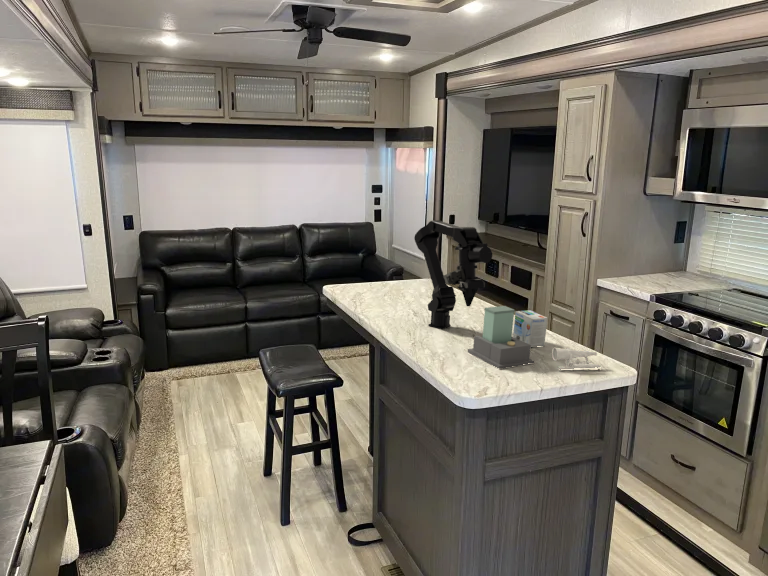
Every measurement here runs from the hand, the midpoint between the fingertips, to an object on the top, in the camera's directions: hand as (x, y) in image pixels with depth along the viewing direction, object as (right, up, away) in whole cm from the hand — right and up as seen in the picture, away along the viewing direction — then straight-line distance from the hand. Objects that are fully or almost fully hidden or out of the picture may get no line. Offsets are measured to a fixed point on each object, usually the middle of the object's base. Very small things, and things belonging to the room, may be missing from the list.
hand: (468, 306), depth 205 cm
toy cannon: (+31, -19, -23) cm, 43 cm away
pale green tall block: (+7, -15, -15) cm, 22 cm away
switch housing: (+8, -16, -16) cm, 25 cm away
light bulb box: (+22, -13, 0) cm, 25 cm away
